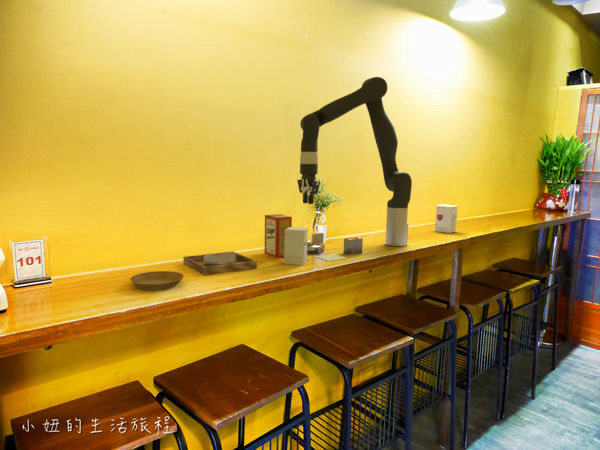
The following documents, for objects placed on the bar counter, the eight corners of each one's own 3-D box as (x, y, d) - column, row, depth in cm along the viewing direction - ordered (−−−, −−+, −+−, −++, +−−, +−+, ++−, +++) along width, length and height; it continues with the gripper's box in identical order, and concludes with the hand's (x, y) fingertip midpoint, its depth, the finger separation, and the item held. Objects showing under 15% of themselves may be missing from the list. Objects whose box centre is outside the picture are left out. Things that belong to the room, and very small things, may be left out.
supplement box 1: (303, 265, 150) (304, 230, 148) (283, 264, 151) (283, 229, 149) (307, 260, 157) (308, 227, 155) (288, 259, 158) (288, 226, 156)
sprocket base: (311, 247, 183) (311, 245, 183) (330, 252, 173) (330, 251, 173) (286, 250, 176) (286, 248, 176) (304, 255, 165) (304, 254, 165)
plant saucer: (155, 276, 132) (154, 268, 131) (194, 282, 126) (193, 274, 126) (118, 289, 118) (118, 280, 118) (160, 296, 113) (160, 286, 112)
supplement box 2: (434, 231, 235) (435, 205, 232) (440, 230, 241) (442, 204, 239) (450, 233, 229) (452, 206, 227) (456, 231, 236) (458, 205, 233)
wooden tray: (232, 257, 159) (232, 251, 159) (256, 268, 144) (257, 261, 144) (183, 263, 148) (183, 256, 148) (204, 275, 133) (204, 268, 133)
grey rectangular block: (357, 251, 177) (358, 236, 176) (364, 252, 174) (364, 238, 173) (341, 253, 172) (341, 238, 171) (347, 255, 168) (348, 240, 168)
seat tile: (332, 253, 170) (332, 253, 170) (348, 258, 162) (348, 257, 162) (312, 256, 164) (312, 255, 164) (328, 261, 156) (328, 260, 156)
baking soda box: (291, 256, 164) (291, 215, 161) (276, 258, 160) (277, 216, 158) (278, 252, 171) (279, 213, 169) (264, 253, 168) (264, 214, 166)
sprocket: (312, 245, 184) (313, 230, 183) (332, 250, 173) (333, 235, 172) (285, 248, 176) (286, 233, 175) (305, 254, 165) (305, 238, 164)
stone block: (237, 273, 144) (236, 261, 154) (236, 260, 143) (236, 249, 152) (202, 275, 142) (203, 263, 152) (201, 262, 141) (202, 250, 150)
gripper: (326, 163, 174) (325, 204, 176) (306, 163, 185) (305, 202, 188) (311, 163, 170) (310, 205, 172) (292, 162, 181) (291, 202, 183)
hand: (308, 203), depth 180 cm, fingers open, 3 cm apart
